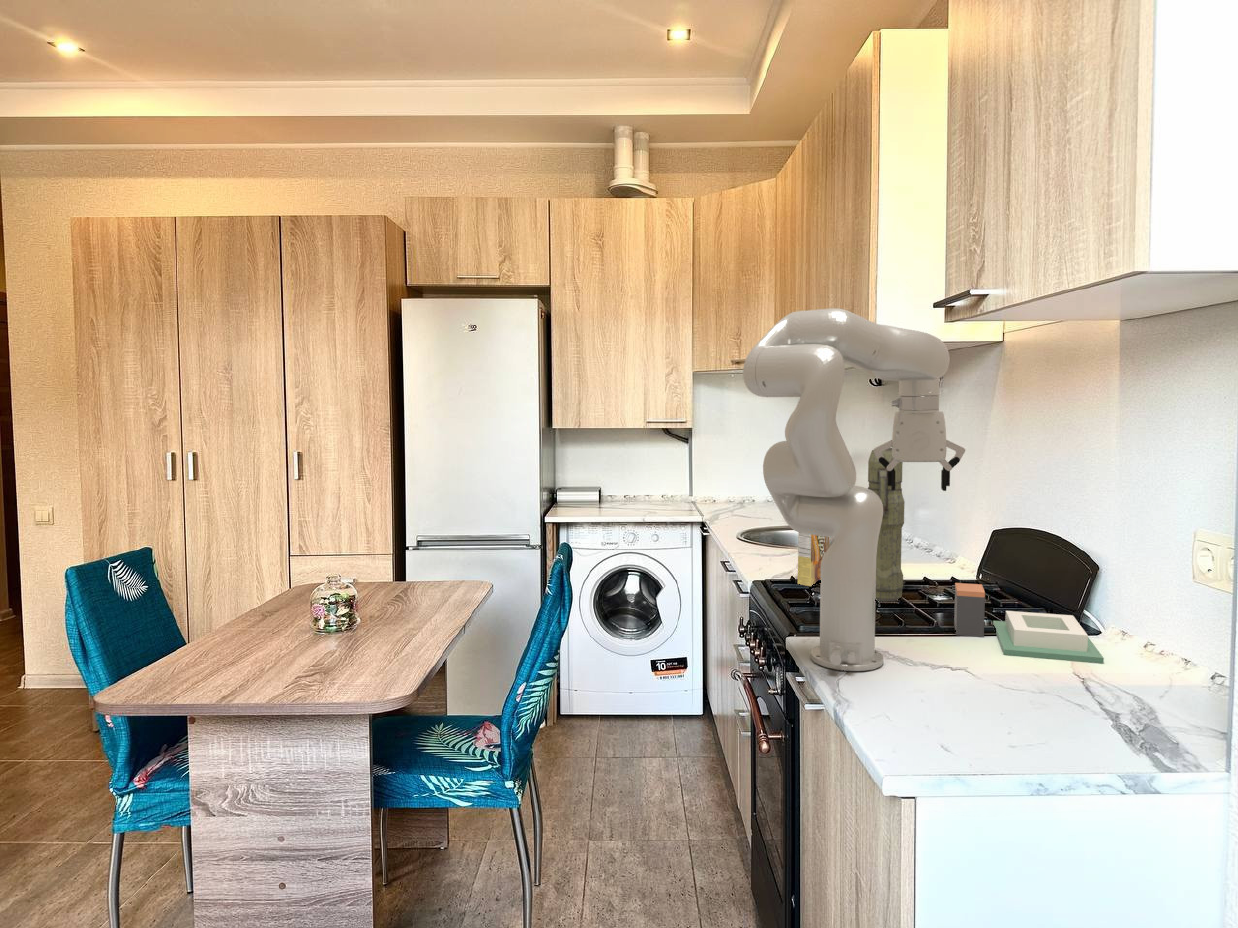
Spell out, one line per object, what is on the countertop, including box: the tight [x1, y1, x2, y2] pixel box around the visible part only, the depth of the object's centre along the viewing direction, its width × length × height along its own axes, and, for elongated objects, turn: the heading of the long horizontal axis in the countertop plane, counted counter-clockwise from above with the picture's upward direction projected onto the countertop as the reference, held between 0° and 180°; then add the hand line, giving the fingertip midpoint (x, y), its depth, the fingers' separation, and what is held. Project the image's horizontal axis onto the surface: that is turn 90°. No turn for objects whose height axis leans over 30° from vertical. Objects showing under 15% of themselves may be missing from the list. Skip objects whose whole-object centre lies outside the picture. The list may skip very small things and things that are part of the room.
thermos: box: [867, 447, 905, 602], centre depth 191 cm, size 9×12×35 cm
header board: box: [992, 610, 1105, 664], centre depth 156 cm, size 20×16×4 cm
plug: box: [953, 582, 986, 638], centre depth 164 cm, size 7×5×9 cm
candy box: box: [797, 532, 830, 587], centre depth 207 cm, size 9×4×15 cm, turn 137°
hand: (918, 489), depth 165 cm, fingers open, 9 cm apart
